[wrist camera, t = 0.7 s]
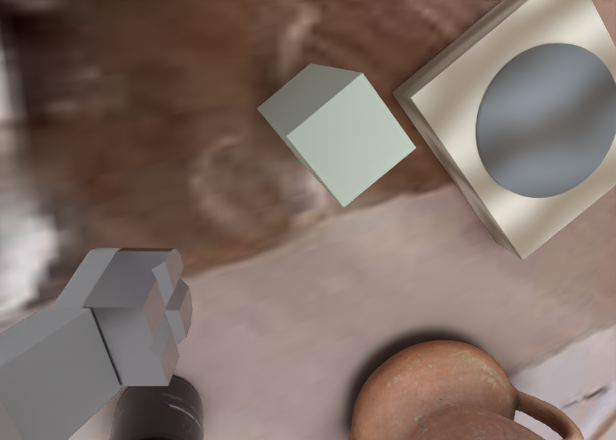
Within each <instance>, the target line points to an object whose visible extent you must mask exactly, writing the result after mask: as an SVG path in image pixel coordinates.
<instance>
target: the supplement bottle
mask: <svg viewBox="0 0 616 440" xmlns="http://www.w3.org/2000/svg"><path fill="white" fill-rule="evenodd" d="M110 440H203V410H202V404H201V400H200V398H199V396H198V394H197V392H196V391H195V390H194V389H193V388H192V387H191V386H190V385H189V384H188V383H186V382H185V381H183V380H181V379H178V378H175V377H172V378H171V380H170V383H169V386H131V387H129V388H128V389H127V390H126V392H125V393H124V394H123V395H122V397H121V399H120V401H119V403H118V405H117V409H116V413H115V417H114V421H113V426H112V431H111V435H110Z"/></svg>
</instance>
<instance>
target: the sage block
mask: <svg viewBox="0 0 616 440" xmlns="http://www.w3.org/2000/svg"><path fill="white" fill-rule="evenodd" d="M257 109H258V110H259V112H260V113H261V114H262V115H263V117H264V118H265V119H266V120H267V121H268V123H269V124H270V125H271V126H272V128H273V129H274V130H275V131H276V132H277V134H278V135H279V136H280V137H281V139H282V140H283V141H284V142H285V144H286V145H287V146H288V147H289V148H290V150H291V151H292V152H293V153H294V155H295V156H296V157H297V158H298V160H299V161H300V162H301V163H302V164H303V165H304V166H305V167H306V168H307V169H308V170H309V171H310V172H311V173H312V174H313V175H314V177H315V178H316V179H317V180H318V181H319V182H320V183H321V184H322V185H323V186H324V187H325V188H326V189H327V190H328V191H329V192H330V193H331V194H332V195H333V197H334V198H335V199H336V200H337V201H338V202H339V203H340V204H341V205H342V206H343V207H345V206H346V205H347V204H349V203H350V202H351V201H352V200H354V199H355V198H356V197H357V196H358V195H360V194H361V193H362V192H363V191H364V190H366V189H367V188H368V187H369V186H371V185H372V184H373V183H374V182H375V181H377V180H378V179H379V178H380V177H381V176H383V175H384V174H385V173H386V172H387V171H389V170H390V169H391V168H392V167H394V166H395V165H396V164H397V163H398V162H400V161H401V160H402V159H403V158H404V157H406V156H407V155H408V154H409V153H411V152H412V151H413V150H414V149H415V148H416V147H415V146H414V144H413V143H412V142H411V140H410V139H409V137H408V136H407V135H406V133H405V132H404V130H403V129H402V128H401V126H400V125H399V123H398V122H397V120H396V119H395V118H394V116H393V115H392V113H391V112H390V111H389V109H388V108H387V106H386V105H385V104H384V102H383V101H382V99H381V98H380V97H379V95H378V94H377V92H376V91H375V90H374V88H373V87H372V85H371V84H370V83H369V81H368V80H367V78H366V77H365V76H364V74H363V73H361V72H355V71H350V70H344V69H339V68H333V67H328V66H322V65H317V64H311V63H310V64H309V65H308V66H307V67H306V68H304V69H303V70H302V71H301V72H300V73H298V74H297V75H296V76H295V77H294V78H292V79H291V80H290V81H289V82H288V83H286V84H285V85H284V86H283V87H282V88H280V89H279V90H278V91H277V92H276V93H275V94H273V95H272V96H271V97H270V98H269V99H267V100H266V101H265V102H264V103H263V104H261V105H260V106H259V107H258V108H257Z"/></svg>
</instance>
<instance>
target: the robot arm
mask: <svg viewBox="0 0 616 440" xmlns="http://www.w3.org/2000/svg"><path fill="white" fill-rule="evenodd" d="M183 268H184V266H183V263H182V259H181V256H180V253H179V252H178V251H177V250H176V249H166V248H95V249H93V250H91V251H89V253H88V254H87V255H86V257H85V258H84V260H83V261H82V263H81V264H80V266H79V267H78V269H77V270H76V272H75V273H74V275H73V276H72V278H71V279H70V281H69V282H68V284H67V285H66V287H65V288H64V290H63V291H62V293H61V294H60V296H59V297H58V299H57V300H56V302H55V303H54V305H53V306H52V308H42V309H41V310H39V311H37V312H36V313H34V314H32V315H31V316H29V317H27V318H26V319H24V320H22V321H21V322H19V323H17V324H16V325H14V326H12V327H11V328H9V329H7V330H6V331H4V332H2V333H1V334H0V440H68V439H69V438H70V437H71V436H72V435H73V434H74V433H75V432H76V431H77V430H78V429H79V428H80V427H82V426H83V425H84V424H85V423H86V422H87V421H88V420H89V419H90V418H91V417H92V416H93V415H94V414H95V413H96V412H97V411H98V410H99V409H100V408H102V407H103V406H104V405H105V404H106V403H107V402H108V401H109V400H110V399H111V398H112V397H113V396H114V395H115V394H116V393H117V392H118V391H119V390H120V389H121V386H169V383H170V380H171V378H172V375H173V372H174V369H175V367H176V364H177V361H178V359H179V353H178V350H177V346H176V345H177V344H178V343H180V342H181V341H182V340H183V339H185V338H186V337H187V334H188V331H189V328H190V325H191V316H192V299H191V294H190V289H189V286H188V285H187V284H186V283H184V282H183V281H182V280H181V279H180V275H181V273H182V270H183Z"/></svg>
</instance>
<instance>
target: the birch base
mask: <svg viewBox="0 0 616 440" xmlns="http://www.w3.org/2000/svg"><path fill="white" fill-rule="evenodd" d="M392 94H393V96H394V97H395V99H396V100H397V101H398V103H399V104H400V106H401V107H402V109H403V110H404V111H405V113H406V114H407V116H408V117H409V118H410V120H411V121H412V123H413V124H414V126H415V127H416V128H417V130H418V131H419V133H420V134H421V136H422V137H423V138H424V140H425V141H426V143H427V144H428V146H429V147H430V148H431V150H432V151H433V153H434V154H435V156H436V157H437V158H438V160H439V161H440V163H441V164H442V165H443V167H444V168H445V170H446V171H447V173H448V174H449V175H450V177H451V178H452V180H453V181H454V183H455V184H456V185H457V187H458V188H459V190H460V191H461V193H462V194H463V195H464V197H465V198H466V200H467V201H468V203H469V204H470V205H471V207H472V208H473V210H474V211H475V212H476V214H477V215H478V217H479V218H480V220H481V221H482V222H483V224H484V225H485V227H486V228H487V230H488V231H489V232H490V234H491V235H492V237H493V238H494V240H495V241H496V242H497V243H498V244H499V245H501V246H502V247H504V248H505V249H507V250H508V251H510V252H511V253H513V254H514V255H516V256H517V257H519V258H521V259H522V260H524V259H525V258H526V257H527V256H529V255H530V254H531V253H532V252H534V251H535V250H536V249H537V248H538V247H540V246H541V245H542V244H543V243H545V242H546V241H547V240H548V239H550V238H551V237H552V236H553V235H555V234H556V233H557V232H558V231H559V230H561V229H562V228H563V227H564V226H566V225H567V224H568V223H569V222H571V221H572V220H573V219H574V218H576V217H577V216H578V215H579V214H580V213H582V212H583V211H584V210H585V209H587V208H588V207H589V206H590V205H592V204H593V203H594V202H595V201H597V200H598V199H599V198H600V197H601V196H603V195H604V194H605V193H606V192H608V191H609V190H610V189H611V188H613V187H614V186H615V185H616V47H615V45H614V43H613V41H612V39H611V37H610V35H609V33H608V32H607V30H606V28H605V26H604V24H603V22H602V20H601V18H600V16H599V14H598V12H597V10H596V8H595V6H594V4H593V2H592V0H503V1H501V2H500V3H499V4H498V5H496V6H495V7H494V8H493V9H492V10H490V11H489V12H488V13H487V14H486V15H484V16H483V17H482V18H481V19H480V20H478V21H477V22H476V23H475V24H474V25H472V26H471V27H470V28H469V29H468V30H466V31H465V32H464V33H463V34H462V35H460V36H459V37H458V38H457V39H456V40H454V41H453V42H452V43H451V44H450V45H448V46H447V47H446V48H445V49H443V50H442V51H441V52H440V53H439V54H437V55H436V56H435V57H434V58H433V59H431V60H430V61H429V62H428V63H427V64H425V65H424V66H423V67H422V68H421V69H419V70H418V71H417V72H416V73H415V74H413V75H412V76H411V77H410V78H409V79H407V80H406V81H405V82H404V83H403V84H401V85H400V86H399V87H398V88H397V89H395V90H394V91H393V92H392Z"/></svg>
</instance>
